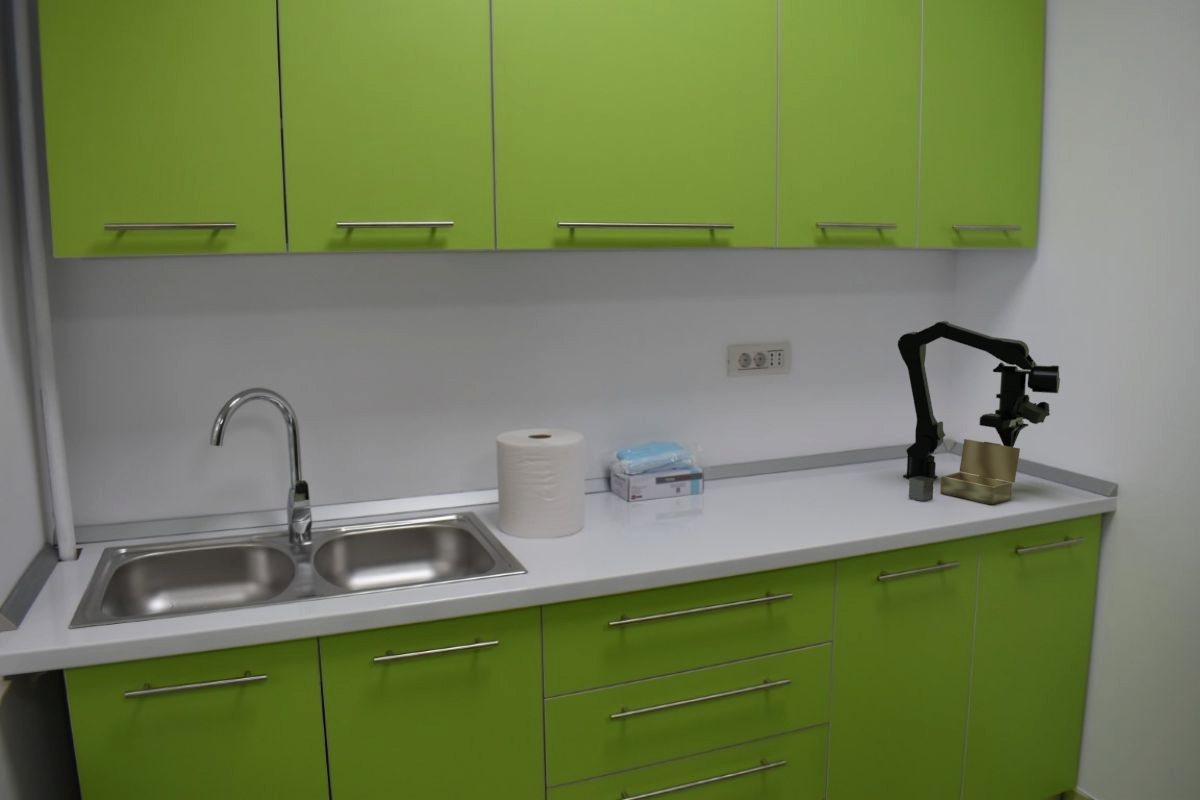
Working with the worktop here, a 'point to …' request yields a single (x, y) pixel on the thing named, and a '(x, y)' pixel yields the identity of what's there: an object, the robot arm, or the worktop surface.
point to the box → (976, 488)
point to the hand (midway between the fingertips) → (1008, 451)
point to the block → (921, 488)
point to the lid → (989, 460)
